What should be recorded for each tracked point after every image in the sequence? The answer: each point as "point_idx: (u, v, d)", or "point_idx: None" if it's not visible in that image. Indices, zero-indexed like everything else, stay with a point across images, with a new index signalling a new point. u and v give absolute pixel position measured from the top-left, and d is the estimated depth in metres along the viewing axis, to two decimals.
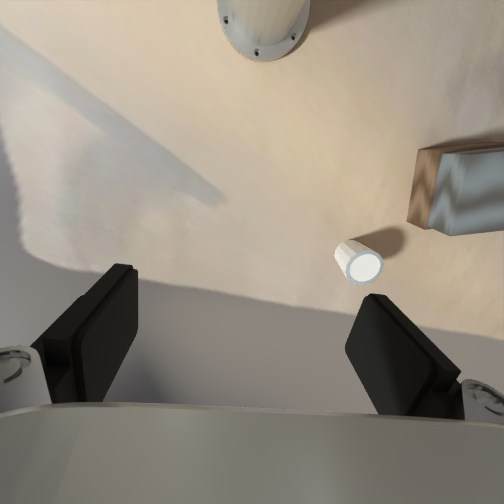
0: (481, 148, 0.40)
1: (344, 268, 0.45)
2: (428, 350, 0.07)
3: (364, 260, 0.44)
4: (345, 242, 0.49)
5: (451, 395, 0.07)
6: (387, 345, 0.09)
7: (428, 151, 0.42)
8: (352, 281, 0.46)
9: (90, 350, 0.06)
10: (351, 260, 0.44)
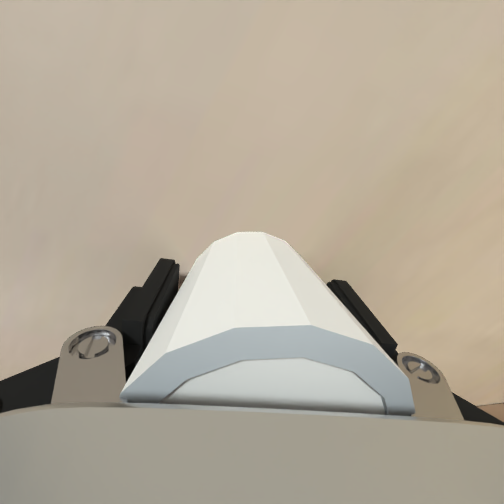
0: None
1: (251, 306, 0.05)
2: (372, 327, 0.08)
3: None
4: None
5: None
6: None
7: None
8: (133, 400, 0.05)
9: None
10: (356, 355, 0.05)
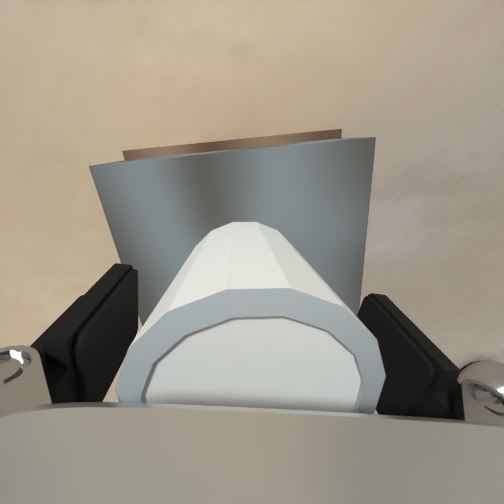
0: None
1: (240, 275, 0.06)
2: (428, 350, 0.07)
3: (313, 389, 0.07)
4: None
5: (451, 395, 0.07)
6: (387, 345, 0.09)
7: None
8: (139, 354, 0.06)
9: (90, 350, 0.06)
10: (330, 316, 0.06)
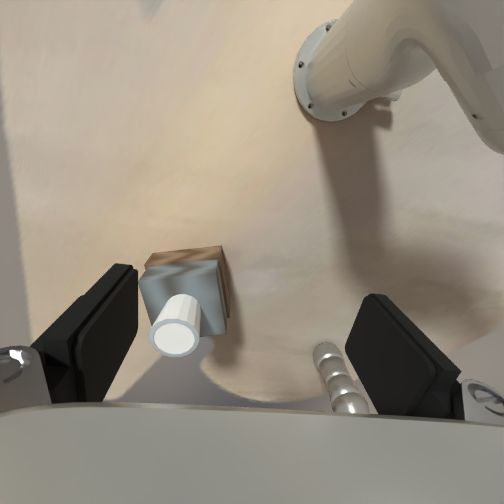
0: (223, 290, 0.46)
1: (170, 315, 0.34)
2: (428, 350, 0.07)
3: (185, 336, 0.35)
4: (197, 304, 0.40)
5: (451, 395, 0.07)
6: (387, 345, 0.09)
7: (219, 251, 0.46)
8: (152, 329, 0.34)
9: (90, 350, 0.06)
10: (184, 322, 0.34)
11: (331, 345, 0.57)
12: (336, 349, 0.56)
